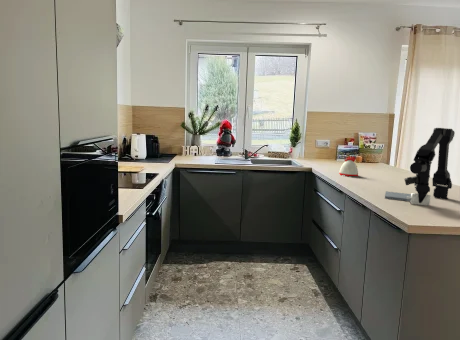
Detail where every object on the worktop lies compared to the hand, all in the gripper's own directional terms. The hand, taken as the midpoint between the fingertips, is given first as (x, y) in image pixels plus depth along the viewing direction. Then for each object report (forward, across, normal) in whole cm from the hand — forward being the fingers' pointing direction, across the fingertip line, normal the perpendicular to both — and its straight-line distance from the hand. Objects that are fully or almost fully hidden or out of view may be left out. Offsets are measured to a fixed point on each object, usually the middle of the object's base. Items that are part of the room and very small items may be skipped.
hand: (419, 201), depth 190 cm
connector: (+1, 0, 0) cm, 1 cm away
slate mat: (+1, -12, -9) cm, 15 cm away
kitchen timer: (+1, -81, -45) cm, 93 cm away
